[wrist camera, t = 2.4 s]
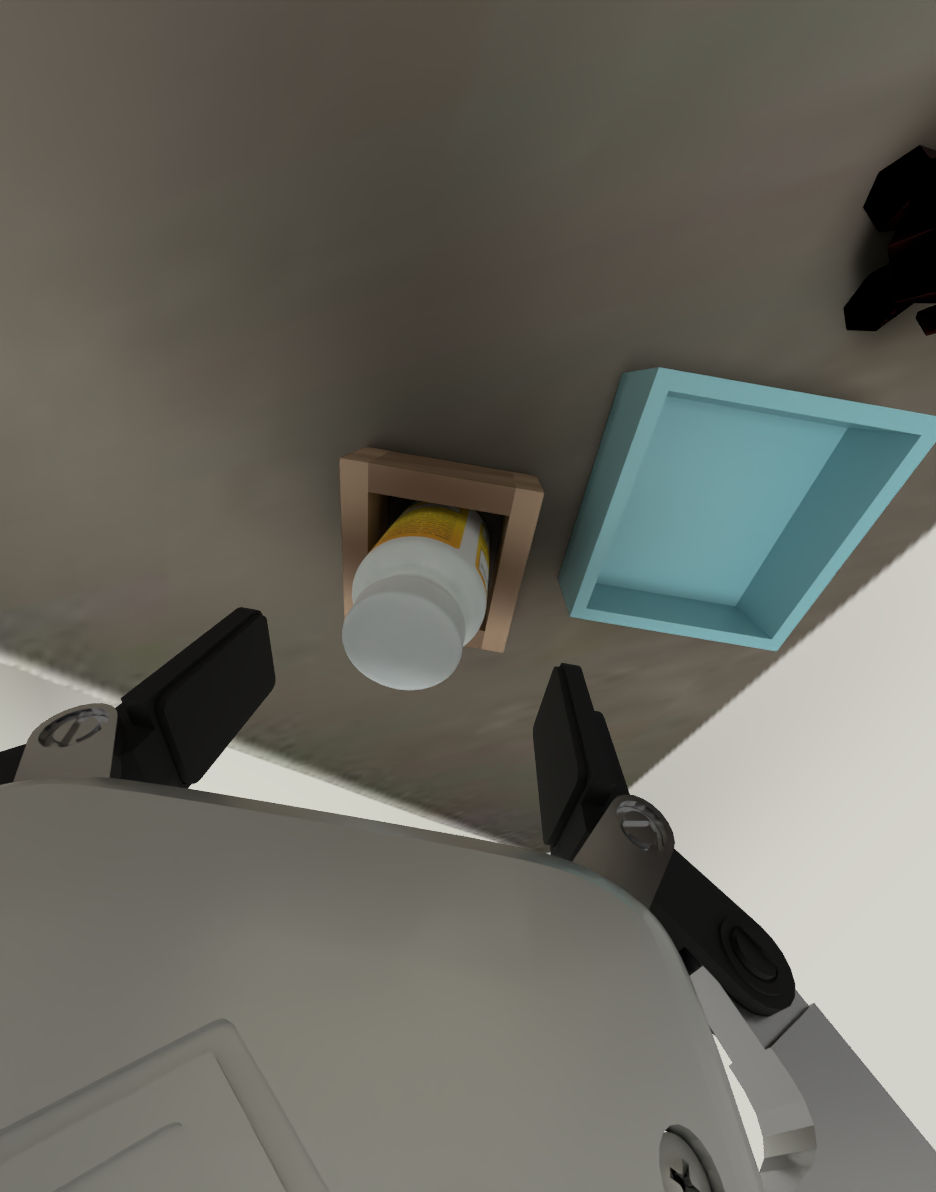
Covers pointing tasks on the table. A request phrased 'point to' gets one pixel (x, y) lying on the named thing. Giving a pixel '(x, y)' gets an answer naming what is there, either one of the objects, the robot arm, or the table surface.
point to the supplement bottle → (419, 597)
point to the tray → (729, 504)
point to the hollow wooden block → (445, 483)
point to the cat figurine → (901, 245)
